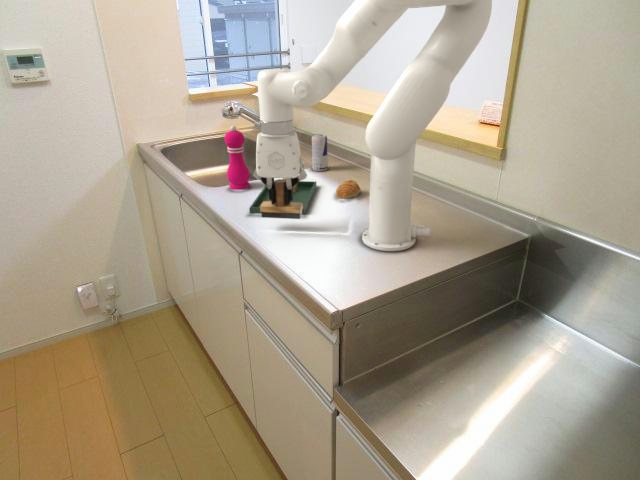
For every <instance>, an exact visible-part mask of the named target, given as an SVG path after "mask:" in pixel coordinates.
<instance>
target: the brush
mask: <svg viewBox="0 0 640 480" xmlns="http://www.w3.org/2000/svg"><path fill="white" fill-rule="evenodd" d="M274 185H275V201H276V203H275V204H274V205H272V202H270V201H263V203H262V204H261V206H260V212H261V213H260V214H261V218H271V219H292V220H294V219H295V220H300V219H301V217H302V209H303V203H297V202H290V204H289V205H286V202H285V189H286V180H283V178H277V179H274Z"/></svg>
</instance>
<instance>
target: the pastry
mask: <svg viewBox="0 0 640 480" xmlns="http://www.w3.org/2000/svg"><path fill="white" fill-rule="evenodd" d="M360 191H361V187H360V185H359V184H358V182H357V181H356V180H353V179H348V180H343V182H341V183H340V184H339V185H338V187H337V188H336V197H337V198H338V199H339V200H347V199H351V198H353V197H354V198H356V197H357V196H358V195H359V194H360Z"/></svg>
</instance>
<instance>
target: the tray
mask: <svg viewBox="0 0 640 480" xmlns="http://www.w3.org/2000/svg"><path fill="white" fill-rule="evenodd" d="M316 189H317V181H309V180H308V181H306V180H305V181H303V180H302V181H299V182H298V189H297V191H296V192H293V200H292V201H291V202H297V203H303V209H302V215H303V216H305V214H306V213H307V210H308V207H309V205H310V203H311V201H312V198H313V196H314V193H315V191H316ZM263 201H270V202H271V200H269V189H268V188H267V186H266V185H265V186H264V187H263V188H262V190H261V191H260V193H259V194H258V195H257V197H256V198H255V199H254V201H253V202H252V203H251V205H250V207H249V214H261V212H260V206H261V204H262V203H263ZM302 215H301V216H302Z"/></svg>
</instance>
